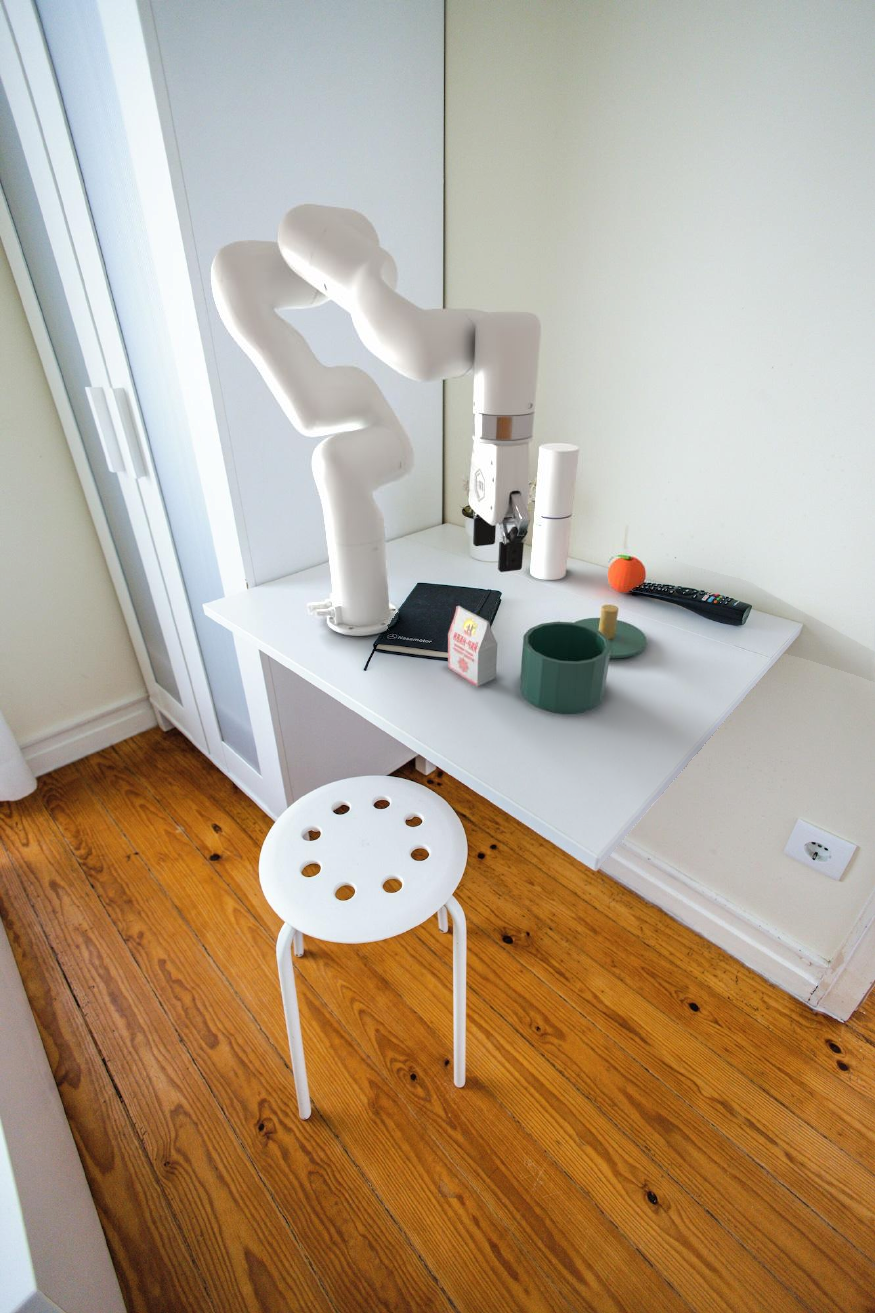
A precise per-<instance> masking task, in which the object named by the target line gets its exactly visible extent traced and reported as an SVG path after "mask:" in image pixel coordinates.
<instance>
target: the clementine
mask: <svg viewBox="0 0 875 1313" xmlns="http://www.w3.org/2000/svg"><path fill="white" fill-rule="evenodd" d="M615 557H617V558H616V559H615V560H614V561H613V562H612V563H611V564H610V565H609V567H608V570H607V581H608V583H609V585H610V586H611V588H613V589H614V590H615V591H616V592H619V593H622V594H629V593H630V594H631V593H633V592H634V591H632V592H629V591H630V590H632V589H633V588H634V587H637V586H639V585H641V584H642V585H643V584H644V582H645V580H646V576H647V575H646V574H647V573H646V567H645V565H644V564H643V562H642V561H641V560H639V559H638V557H635V556H631V555H626V554H618V555H614V556H612V557H611V558H609V561H608V563H610V562H611V560H613V559H614V558H615ZM642 585H641V586H642Z"/></svg>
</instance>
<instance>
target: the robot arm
mask: <svg viewBox="0 0 875 1313" xmlns="http://www.w3.org/2000/svg"><path fill="white" fill-rule="evenodd" d="M276 238H277V241H270V240H255V239H254V240H239V241H233V242H229V243H228V244H225V245H224V246H222V247H221V248H219V249H218V251H217V252H216V254H215V255H214V256H213V260H212V263H211V270H210V271H211V272H210V280H211V288H212V294H213V298H214V301H215V305H216V308H217V310H218V312H219V315H220V318H221V320H222V321H223V323H224V325H225V327H226V329H227V330H228V332H229V333H230V334H231V336H232V337H233V338H234V340H235V341H236V342H237V344H238V345H239V346H240V347H241V349H242V350H243V351H244V353H246V354H247V356H248V357H249V358H250V360H251V361H252V363H253V364H254V365H255V366H256V368H257V370H258V371H259V372H260V375H261V376H262V377H263V380H264V381H265V383H266V385H267V386H268V387H269V389H270V391H271V393H272V394H273V396H274V397H275V399H276V401H277V402H278V404H279V406H280V407H281V408H282V410H283V412H284V413H285V415H286V416H287V418H288V419H289V421H290V423H291V424H292V425H293V427H294V428H295V430H297V431H298V432H299V433H300V434H302V435H304V436H305V437H319V436H320V437H321V436H326V435H331V434H333V435H331V436H328V437H327V438H325V439H324V440H322V441H321V442H320V443H319V444H318V445H317V446H316V448H315V449H314V451H313V454H312V458H311V470H312V475H313V479H314V481H315V485H316V488H317V491H318V494H319V497H320V502H321V506H322V511H323V518H324V524H325V532H326V534H325V535H326V542H327V550H328V558H329V566H330V567H329V568H330V578H331V586H332V593H330V594H329V595H330V598H327V599H325V601H320V602H318V601H316V602H315V601H314V602H308V603H306V604H307V612H308V615H313V614H315V615H316V619H322V618H326V623H327V625H328V627H329V628H330V629H331V630H333V631H334V632H337V633H339V634H341V635H346V636H352V637H365V636H371V635H372V636H373V635H377V634H380V633H384V632H386V631H388V630H389V629H388V626H387V625H388V624H390V622H391V620H392V618H394V616H395V614H396V613H397V612H398V613H399V610H398V608H397V607H396V606H395V605H394V604H392V603H390V593H389V592H390V591H389V576H388V559H387V543H386V529H385V528H386V527H385V520H384V516H383V513H382V511H381V509H380V507H379V506H378V504H377V502H376V501H375V499H374V495H373V493H374V492H376V491H378V490H381V489H383V488H387V487H390V486H393V485H395V484H398V483H400V482H402V481H404V480H405V479H407V478H408V477H409V475H411V472H412V471H413V468H414V465H415V452H414V448H413V444H412V441H411V439H410V437H409V435H408V433H407V431H406V429H405V428H404V426H403V425H402V423H401V421H400V419H399V418H398V416H397V415H396V413H395V411H394V410H393V408H392V407H391V405H390V403H389V401H388V400H387V397H386V396H385V395H384V393H383V392H382V390H381V389H380V387H379V385H378V384H377V382H376V381H375V380H374V378H373V377H372V376H371V375H370V374H368V373H367V372H366V371H365V370H363V369H362V368H360V367H357V366H353V365H336V366H327V365H324V364H323V363H322V362H321V361H320V359H318V358H317V356H316V355H315V353H314V352H313V351H312V349H311V346H310V345H309V343H308V341H307V340H306V339H305V337H304V336H303V334H302V333H300V332H299V331H298V330H297V329H296V327H294V326H293V325H292V324H291V323H289V322H288V321H287V320H286V319H284V318H283V317H281V316H280V315H279V314H278V313H277V312H276V311H275V310H299V309H301V310H302V309H312V308H316V307H319V306H322V305H324V304H326V303H327V302H329V301H333V302H334V303H336V304H337V305H338V306H340V308H342V309H344V310H345V311H346V312H347V313H349V314H350V315H351V318H352V322H353V326H354V328H355V329H356V332H357V334H358V336H359V338H360V340H361V342H362V344H363V345H364V346H365V347H366V349H368V351H369V352H370V353H372V354H373V355H374V356H376V358H378V359H379V360H381V361H382V362H383V363H385V364H386V365H387V366H389V367H390V368H391V369H393V370H394V371H395V372H397V373H398V374H400V375H401V376H404V377H406V378H407V379H410V380H413V381H414V382H415V381H416V382H420V383H432V382H438V381H442V380H447V379H459V378H465V377H470V376H473V399H472V400H473V401H472V402H473V403H472V408H473V410H472V437H471V438H472V441H473V444H472V451H471V460H470V471H469V485H468V504H469V507H470V508H471V509H472V511H473V512H472V514H473V530H472V531H473V533H472V537H473V538H472V542H473V543H472V544H473V546H475V547H483V546H492V545H495V543H496V531H497V525H498V526H499V531H500V537H501V541H499V543H498V557H497V558H498V560H497V570H498V571H499V572H500V573H508V572H514V571H520V570H522V568H523V558H524V544H525V542H526V541H527V540H526V539H527V537H526V536H527V535H528V532H529V531H528V530H529V525H530V522H531V515H530V513H529V510H528V509H529V499H530V498H529V495H530V443H531V442H532V441H534V440H533V439H534V429H535V415H536V401H537V400H536V399H537V390H538V389H537V388H538V375H539V373H538V372H539V363H540V362H539V360H540V348H541V335H542V324H541V320H540V319H539V316H537V315H536V314H535V313H532V312H528V311H490V312H488V311H483V310H479V309H473V308H432V309H424V308H422V307H420V306H418V305H416V304H415V303H413V302H411V301H410V300H408V299H407V298H405V297H404V296H403V295H401V294H400V293H398V292H397V291H396V290H397V286H398V278H399V272H398V266H397V263H396V261H395V258H394V257H393V256H392V255H391V253H389V251H387V250H386V249H384V248H383V247H382V246H381V244H380V239H379V235H378V233H377V231H376V229H375V227H374V225H373V223H372V222H371V220H369V219H368V217H366V216H365V215H364V214H362V213H361V212H359V211H357V210H355V209H351V208H344V207H337V206H330V205H324V204H323V205H322V204H315V203H305V204H299V205H297V206H294V207H292V208H291V209H290V210H288V211H287V212H286V213H285V214H284V215H283V216H282V218H281V220H280V222H279V225H278V229H277V237H276ZM508 526H512V527H511V528H510V530H508V529H509V528H508ZM387 629H388V630H387Z"/></svg>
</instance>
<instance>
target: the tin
mask: <svg viewBox="0 0 875 1313" xmlns="http://www.w3.org/2000/svg"><path fill="white" fill-rule="evenodd" d="M610 653H611V645H610V641H609V639H608V638H607V637H606V636H605V635H604V634H602V633H601V632H600V631H598V630H596V629H594V628H591V627H589V626H586V625H582V624H577V623H574V622H571V621H551V622H544V623H540V624H537V625H535V626H532V627H530V628H529V629H528V630H527V631H526V632H525V633H524V634H523V636H522V649H521V664H520V678H519V690H520V693H521V695H522V696H523V698H524V699H525V700H526V701H527V702H528V703H530V704H531V705H533V706H535V707H537V708H538V709H541V710H544V711H547V712H550V713H557V714H564V715H565V714H580V713H584V712H588V711H590V710H592V709H594V708H596V707H597V706H598V705H599V704H600V703H601V702H602V700H603V697H604V695H605V690H606V685H607V684H606V683H607V678H608V677H607V676H608V670H609V666H610V665H609V664H610V659H611V658H610Z"/></svg>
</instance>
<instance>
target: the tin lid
mask: <svg viewBox="0 0 875 1313" xmlns="http://www.w3.org/2000/svg"><path fill="white" fill-rule="evenodd" d="M600 610H601V611H600V617H588V618H583V619H579V620H576V621H574V622H573V623H577V624H582V625H586V626H589V627H591V628H594V629H596V630H598V631H600V632H601V633H602V634H604V635H605V636H606V637H607V638H608V639H609V641H610V645H611V653H610V659H621V658H622V659H623V658H629V657H632V656H636V655H638V654H640V653H641V652H642V651H644V650H645V648H646V646H647V642H648V639H647V636H646V635H645V633H644V632H643V631H642V630H641V629H640V628H638V627H636V626H635V625H634V624H631V623H628V622H626V621H623V620H620V619H618V615H619V607H618V606H616V605H613V604H604V605H602V606H601V609H600Z"/></svg>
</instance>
